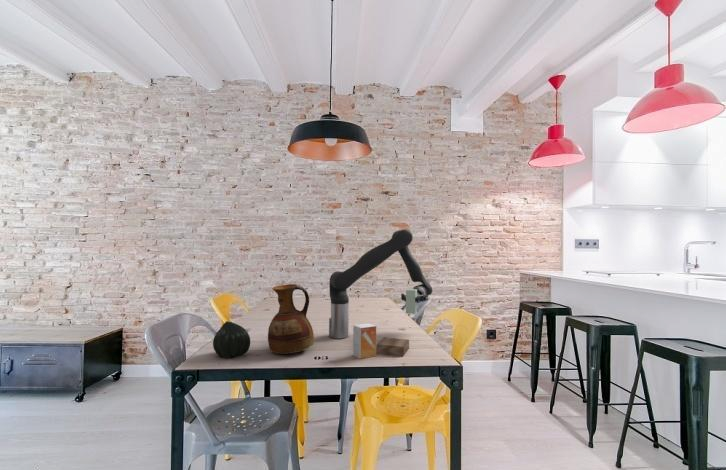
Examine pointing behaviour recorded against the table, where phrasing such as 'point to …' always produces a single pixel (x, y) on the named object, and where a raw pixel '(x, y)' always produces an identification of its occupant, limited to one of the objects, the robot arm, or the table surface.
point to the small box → (364, 340)
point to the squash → (231, 340)
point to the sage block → (411, 301)
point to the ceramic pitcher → (290, 323)
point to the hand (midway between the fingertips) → (410, 299)
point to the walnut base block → (393, 346)
